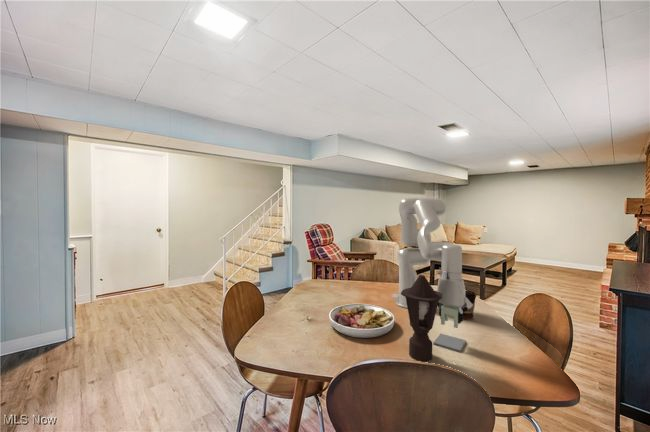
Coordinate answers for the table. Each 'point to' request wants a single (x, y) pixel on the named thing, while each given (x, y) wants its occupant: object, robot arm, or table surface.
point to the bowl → (361, 320)
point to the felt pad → (450, 342)
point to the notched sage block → (447, 311)
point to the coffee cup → (469, 313)
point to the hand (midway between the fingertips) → (450, 319)
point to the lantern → (421, 317)
